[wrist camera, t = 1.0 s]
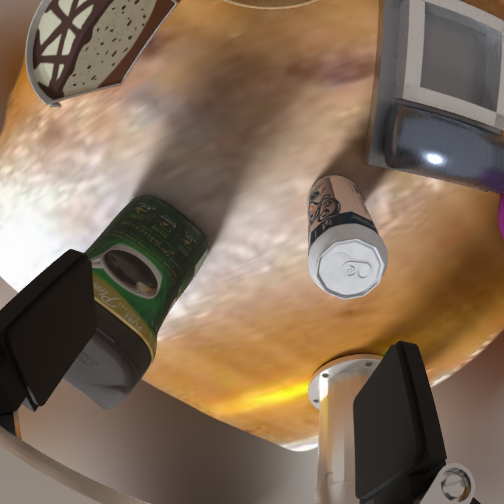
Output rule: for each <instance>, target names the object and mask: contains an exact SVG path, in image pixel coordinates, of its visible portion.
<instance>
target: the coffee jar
mask: <svg viewBox="0 0 504 504" xmlns="http://www.w3.org/2000/svg"><path fill="white" fill-rule="evenodd" d="M207 252H208V245H207V241H206V239H205V237H204V235H203V234H202V232H201V231H200V230H199V229H198V228H197V227H196V226H195V225H194V224H193V223H192V222H190V221H189V220H188V219H187V218H186V217H185V216H184V215H182V214H181V213H180V212H178V211H177V210H176V209H174V208H173V207H171V206H170V205H168V204H167V203H165V202H164V201H162V200H160V199H158V198H156V197H153V196H147V195H146V196H139V197H137V198H135V199H134V200H132V201H131V202H130V203H129V204H128V205H127V206H126V207H125V208H123V210H122V211H121V212H120V213H119V214H118V215H117V216H116V217H115V218H114V219H113V221H112V222H111V223H110V224H109V226H108V227H107V228H106V229H105V230H104V232H103V233H102V234H101V235H100V236H99V237H98V238H97V240H96V241H95V242H94V243H93V244H92V245H91V246H90V247H89V248H88V249H87V251H86V252H84V253H85V254H86V255H87V256H88V259H89V260H90V261H91V263H92V274H93V287H94V299H95V309H96V318H97V329H96V332H95V334H94V335H93V337H92V338H91V339H90V341H89V342H88V343H87V345H86V346H85V347H84V349H83V350H82V351H81V353H80V354H79V356H78V357H77V358H76V360H75V361H74V363H73V364H72V365H71V367H70V368H69V370H68V371H67V372H66V374H65V375H64V377H63V378H62V379H64V380H65V381H66V382H68V383H69V384H70V385H72V386H73V387H75V388H76V389H78V390H79V391H81V392H82V393H83V394H85V395H86V396H88V397H89V398H91V399H92V400H93V401H94V402H96V403H97V404H98V405H99V406H100V407H101V408H103V409H105V410H109V409H111V408H113V407H115V406H117V405H118V404H119V403H121V402H122V401H123V400H124V399H125V398H126V397H127V396H128V395H129V393H130V392H131V391H132V389H134V387H135V386H136V385H137V383H138V382H139V381H140V379H141V378H142V377H143V375H144V374H145V373H146V372H147V371H148V370H149V368H150V367H151V365H152V362H153V360H154V357H155V354H156V347H157V334H158V331H159V329H160V327H161V325H162V323H163V321H164V319H165V318H166V316H167V314H168V313H169V311H170V310H171V308H172V307H173V305H174V304H175V302H176V301H177V300H178V298H179V297H180V296H181V294H182V293H183V292H184V290H185V289H186V288H187V286H188V285H189V284H190V282H191V281H192V280H193V278H194V277H195V275H196V274H197V272H198V271H199V269H200V267H201V266H202V264H203V262H204V260H205V258H206V256H207Z"/></svg>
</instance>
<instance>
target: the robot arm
mask: <svg viewBox="0 0 504 504" xmlns="http://www.w3.org/2000/svg"><path fill="white" fill-rule="evenodd" d="M96 329H97V318H96V309H95V299H94V287H93V274H92V263H91V261H90V260H89V259H88V256H87V255H86V254H85V253H82V252H79V251H76V250H73V249H69V250H68V251H66V252H65V253H64V254H63V255H62V256H60V257H59V258H58V259H57V260H56V261H54V262H53V263H52V264H51V265H50V266H49V267H47V268H46V269H45V270H44V271H43V272H42V273H40V274H39V275H38V276H37V277H36V278H35V279H34V280H33V281H31V282H30V283H29V284H28V285H27V286H26V287H25V288H24V289H23V290H21V291H20V292H19V293H18V294H17V295H16V296H15V297H14V298H13V299H12V300H11V301H10V302H9V303H8V304H6V306H4V307H3V308H2V309H1V310H0V504H150V503H147V502H144V501H142V500H139V499H136V498H134V497H131V496H129V495H126V494H124V493H121V492H119V491H116V490H114V489H112V488H110V487H107V486H105V485H102V484H100V483H98V482H96V481H94V480H92V479H90V478H88V477H86V476H84V475H82V474H80V473H78V472H76V471H74V470H72V469H70V468H68V467H66V466H64V465H62V464H61V463H59V462H57V461H55V460H53V459H52V458H50V457H48V456H46V455H45V454H43V453H41V452H40V451H38V450H36V449H35V448H33V447H32V446H30V445H29V444H27V443H25V442H24V441H22V437H21V431H20V424H19V416H18V408H19V407H20V405H21V404H22V405H24V406H26V407H27V408H29V409H30V410H32V411H34V412H35V410H36V409H37V408H38V406H43V405H44V404H45V403H46V401H47V400H48V398H49V397H50V395H51V394H52V392H53V391H54V389H55V388H56V387H57V385H58V384H59V382H60V381H61V379H62V378H63V377H64V375H65V374H66V372H67V371H68V370H69V368H70V367H71V365H72V364H73V363H74V361H75V360H76V358H77V357H78V356H79V354H80V353H81V351H82V350H83V349H84V347H85V346H86V345H87V343H88V342H89V341H90V339H91V338H92V337H93V335H94V334H95V332H96ZM308 396H309V399H310V401H311V403H312V404H313V405H314V406H315V407H316V408H317V409H319V410H320V412H319V443H318V464H317V466H318V467H317V482H316V499H315V504H480V503H479V502H478V501H477V500H476V499H475V498H474V497H473V495H474V492H475V482H474V479H473V476H472V474H471V473H470V471H469V470H468V469H467V468H466V467H464V466H462V465H461V464H457V463H451V464H448V465H446V462H445V459H447V456H446V451H445V447H444V442H443V437H442V432H441V428H440V424H439V419H438V415H437V411H436V407H435V403H434V399H433V395H432V392H431V388H430V384H429V381H428V377H427V374H426V370H425V367H424V364H423V360H422V357H421V354H420V351H419V348H418V346H417V345H416V344H413V343H408V342H403V341H399V342H397V344H396V345H391V347H390V348H389V349H388V351H387V352H386V354H385V356H384V357H383V356H379V355H373V354H355V355H349V356H345V357H341V358H338V359H336V360H333V361H331V362H329V363H327V364H325V365H324V366H322V367H321V368H320V369H318V370H317V371H316V372H315V373H314V375H313V376H312V377H311V379H310V381H309V386H308Z"/></svg>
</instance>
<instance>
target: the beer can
mask: <svg viewBox="0 0 504 504" xmlns="http://www.w3.org/2000/svg"><path fill="white" fill-rule="evenodd" d="M387 261H388V254H387V249H386V246H385V244H384V242H383V240H382V238H381V237H380V236H379V234H378V231H377V229H376V227H375V225H374V223H373V221H372V218H371V216H370V214H369V212H368V210H367V208H366V206H365V204H364V202H363V199H362V197H361V194H360V191H359V189H358V188H357V186H356V185H355V184H354V182H352V181H351V180H349V179H348V178H346V177H343V176H339V175H331V176H326V177H323V178H321V179H320V180H318V181H317V182H316V183H315V184H314V185H313V186H312V188H311V189H310V191H309V194H308V269H309V272H310V275H311V277H312V278H313V280H314V281H315V283H316V284H317V285H318V286H319V287H320V288H321V289H323V290H324V291H325V293H328V294H331V295H333V296H336V297H338V298H341V299H343V300H344V299H350V298H356V297H362V296H365V295H366V294H367V293H368V292H370V291H371V290H372V289H373V288H374V287H376V286H377V285H378V284H379V283H380V280H381V278H382V276H383V275H384V272H385V270H386V267H387Z"/></svg>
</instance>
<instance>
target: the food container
mask: <svg viewBox="0 0 504 504" xmlns="http://www.w3.org/2000/svg"><path fill="white" fill-rule="evenodd" d="M178 4H179V3H178V2H177V1H176V0H43V1H42V2H41V4H40V5H39V7H38V9H37V11H36V13H35V15H34V17H33V20H32V22H31V25H30V28H29V32H28V36H27V41H26V51H25V56H26V68H27V74H28V77H29V80H30V83H31V85H32V87H33V89H34V91H35V93H36V94H37V96H38V97H39V98H40V100H41V101H42V102H43V103H44V104H45V105H47V104H48V105H49V106H50V107H61V106H62V105H61V104H60V103H58V102H59V101H62V100H65V99H69V98H72V97H76V96H79V95H83V94H87V93H91V92H95V91H99V90H103V89H107V88H111V87H116V86H120V85H122V84H123V82H124V80H125V79H126V77H127V75H128V74H129V72H130V71H131V69H132V68H133V66H134V64H135V63H136V61H137V60H138V58H139V57H140V55H141V54H142V52H143V51H144V49H145V48H146V47H147V45H148V44H149V42H150V41H151V39H152V38H153V37H154V35H155V34H156V32H157V31H158V30H159V28H160V27H161V26H162V24H163V23H164V22H165V20H166V19H167V18H168V16H169V15H170V14H171V13H172V11H173V10H174V9H175V7H176V6H177V5H178Z"/></svg>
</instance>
